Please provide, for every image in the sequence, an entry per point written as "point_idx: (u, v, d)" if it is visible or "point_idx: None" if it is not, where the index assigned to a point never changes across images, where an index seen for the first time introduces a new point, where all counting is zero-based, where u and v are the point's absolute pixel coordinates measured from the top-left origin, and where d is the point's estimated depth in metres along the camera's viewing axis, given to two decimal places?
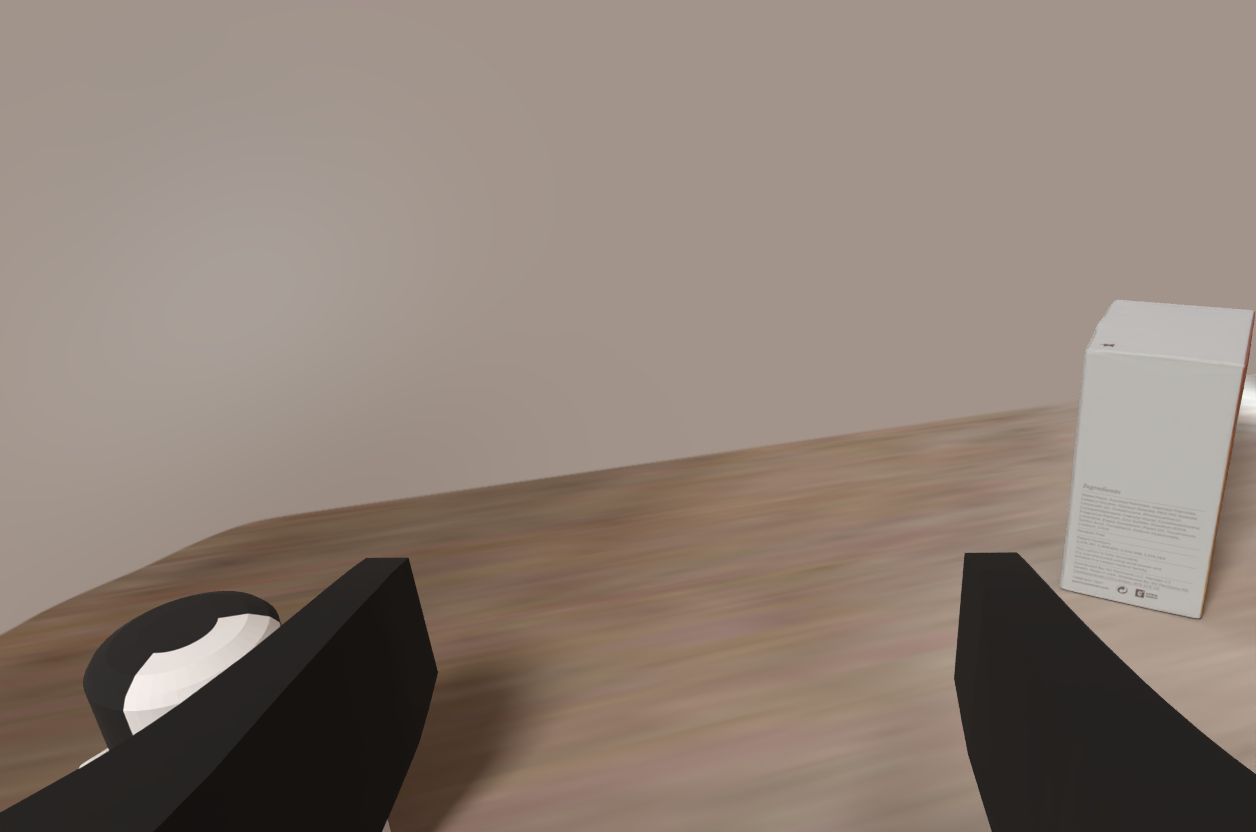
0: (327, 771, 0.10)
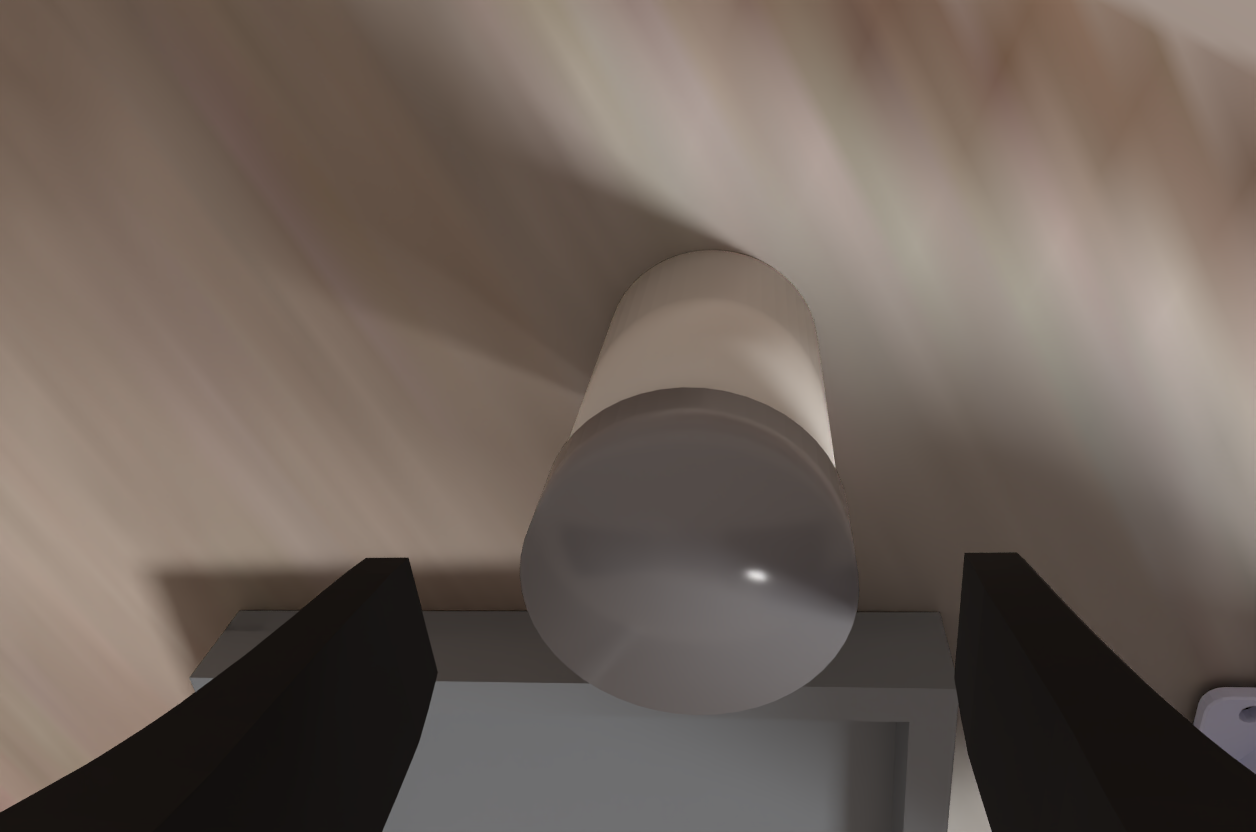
0: (327, 771, 0.10)
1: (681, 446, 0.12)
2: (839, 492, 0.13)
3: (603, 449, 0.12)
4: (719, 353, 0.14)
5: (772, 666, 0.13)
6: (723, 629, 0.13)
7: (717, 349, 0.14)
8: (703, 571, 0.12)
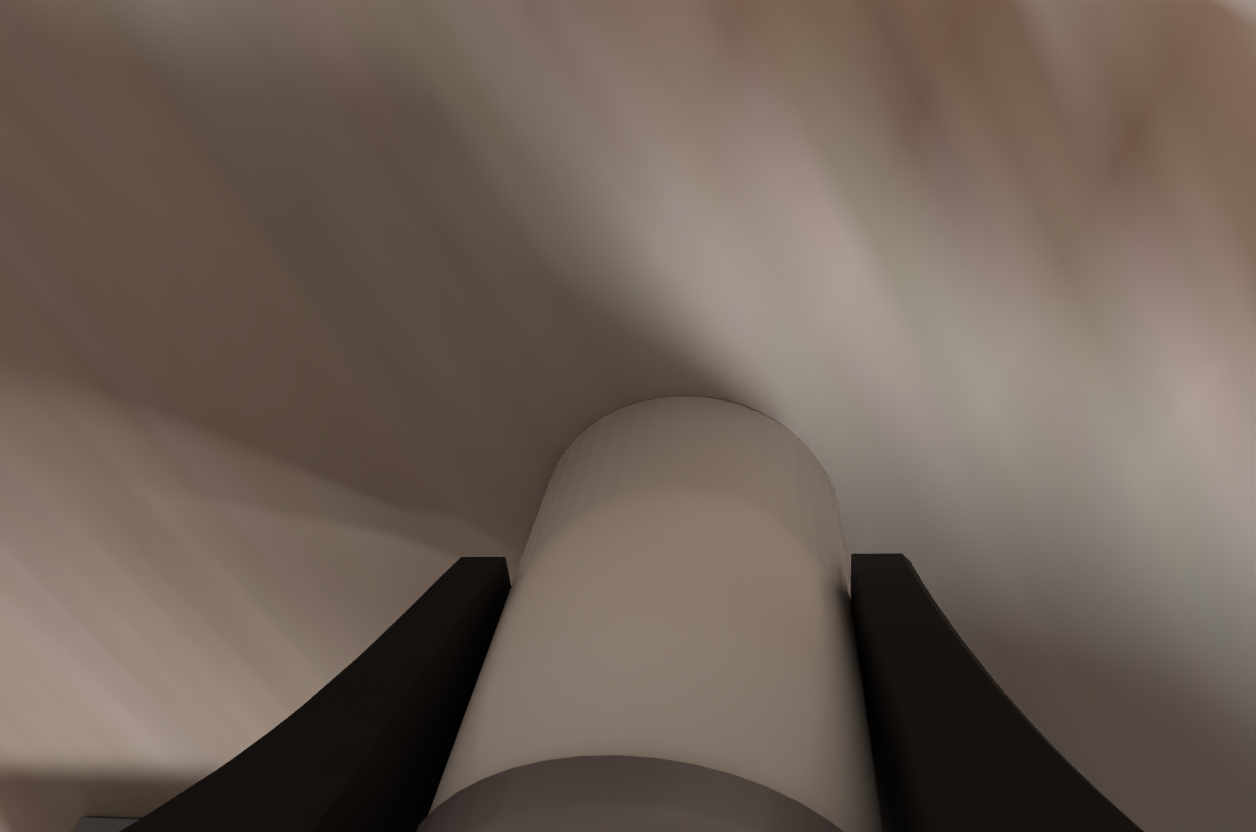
0: (442, 774, 0.10)
1: None
2: None
3: None
4: (690, 644, 0.09)
5: None
6: None
7: (687, 634, 0.09)
8: None
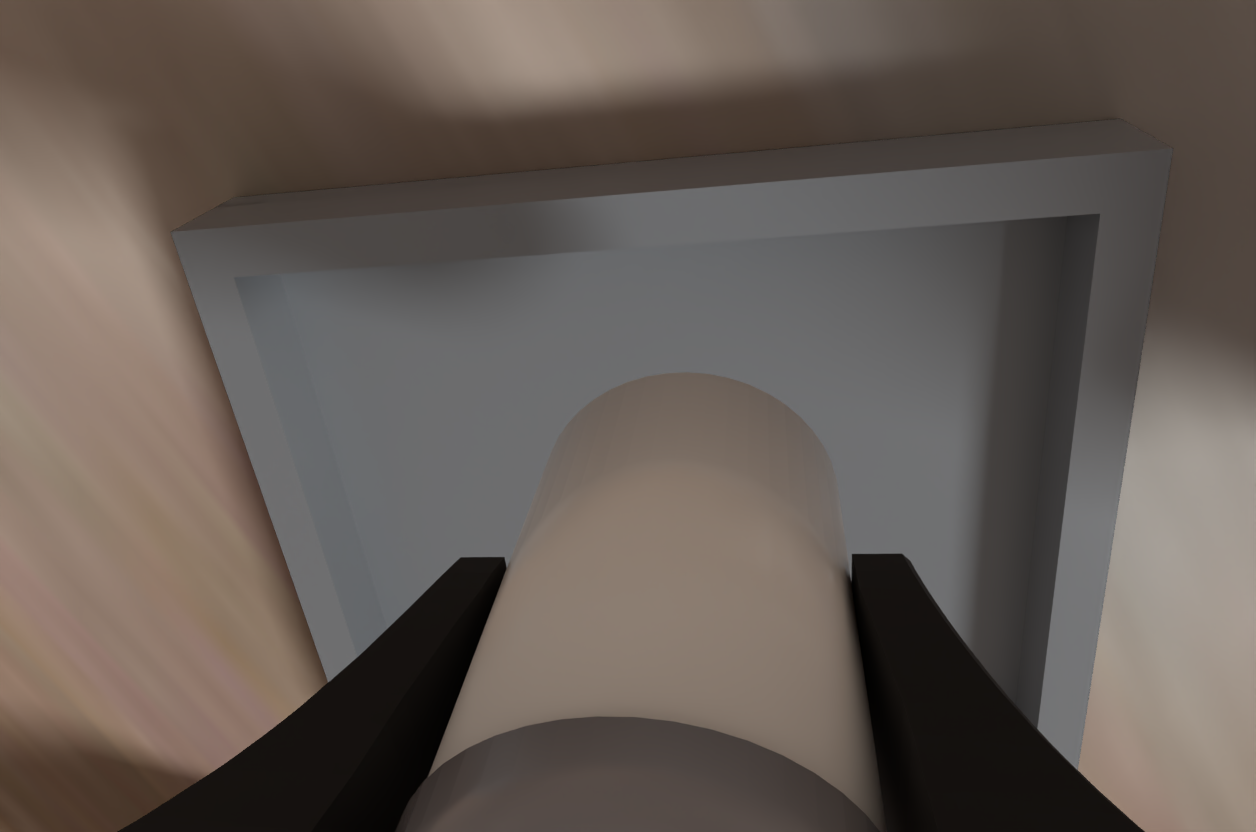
0: None
1: None
2: None
3: None
4: (703, 613, 0.09)
5: None
6: None
7: (700, 602, 0.09)
8: None
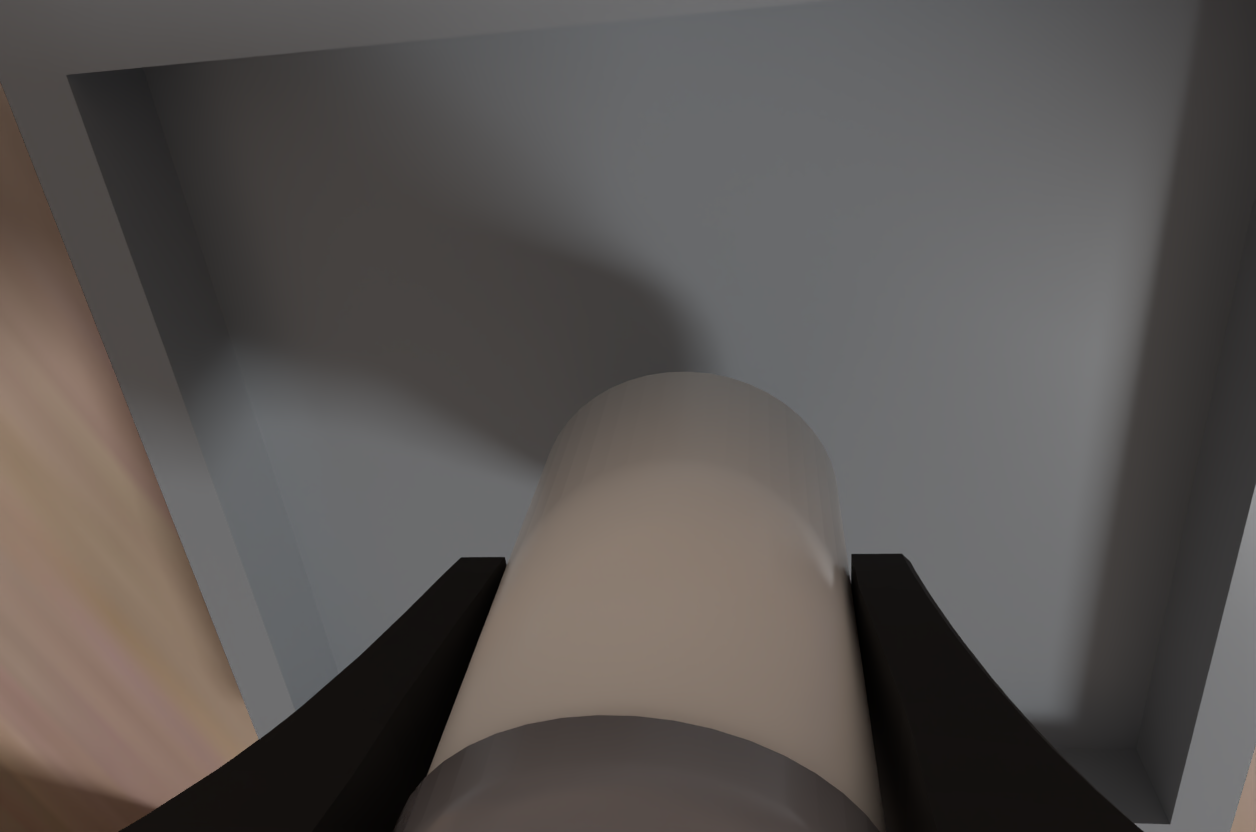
0: None
1: None
2: None
3: None
4: (704, 613, 0.09)
5: None
6: None
7: (702, 601, 0.09)
8: None
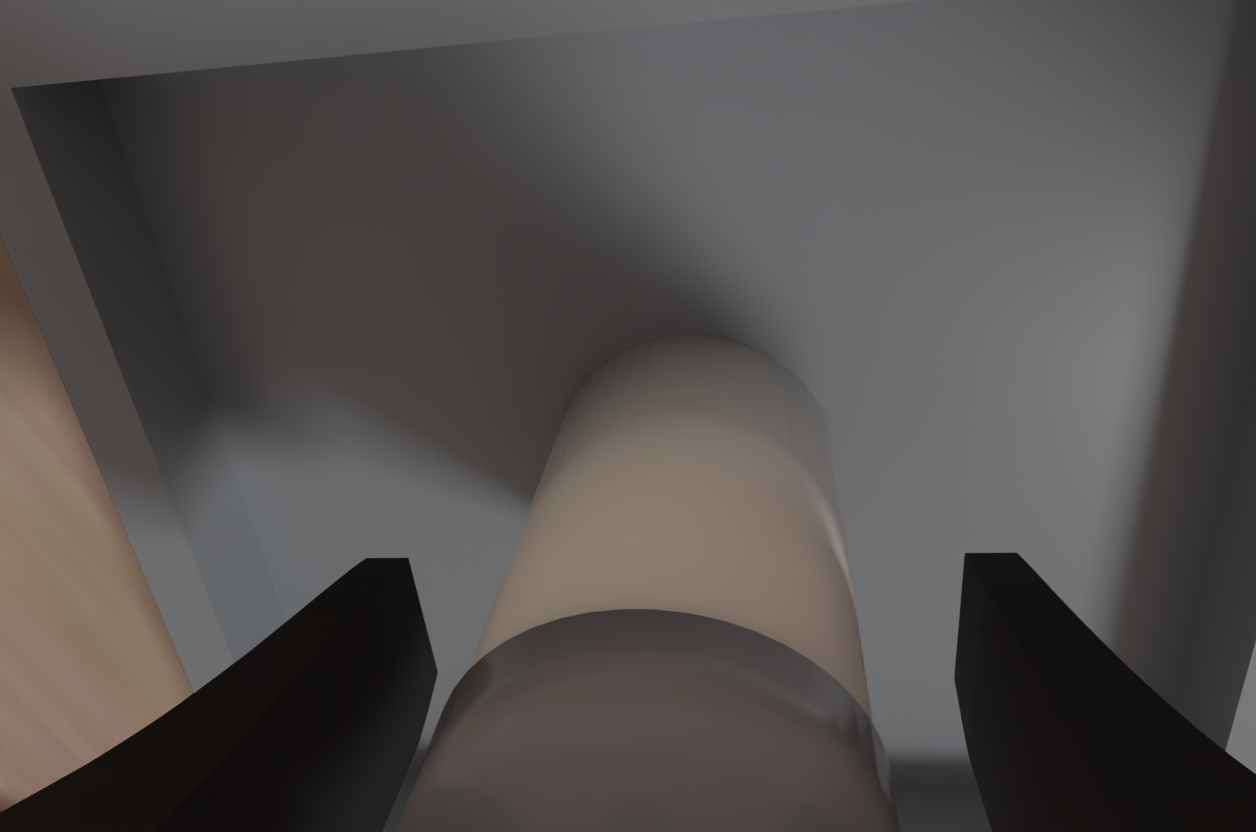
0: (327, 771, 0.10)
1: (648, 752, 0.07)
2: (889, 791, 0.08)
3: (520, 732, 0.07)
4: (712, 531, 0.10)
5: None
6: None
7: (710, 524, 0.10)
8: None
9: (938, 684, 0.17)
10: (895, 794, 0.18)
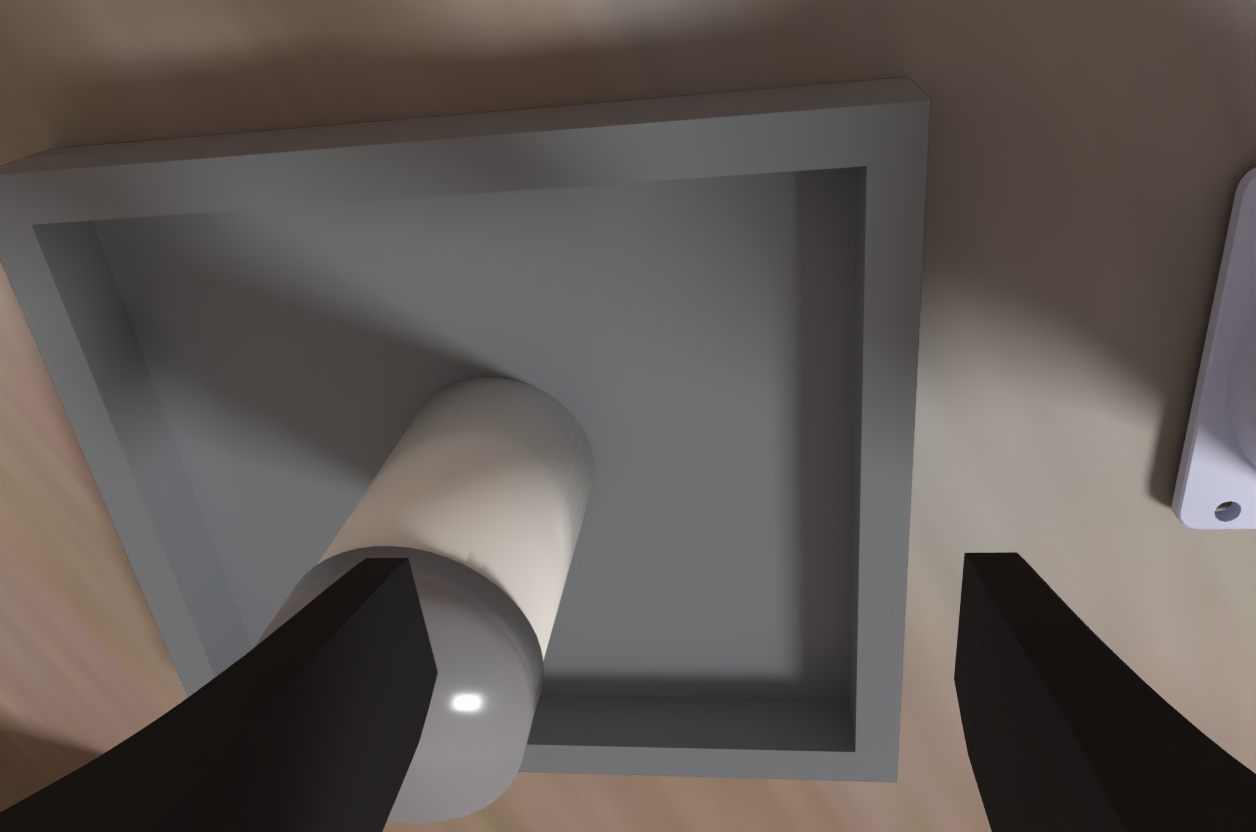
0: (327, 771, 0.10)
1: None
2: (520, 645, 0.15)
3: None
4: (448, 505, 0.16)
5: (459, 789, 0.15)
6: (415, 757, 0.15)
7: (449, 500, 0.16)
8: None
9: (688, 621, 0.23)
10: (668, 703, 0.24)
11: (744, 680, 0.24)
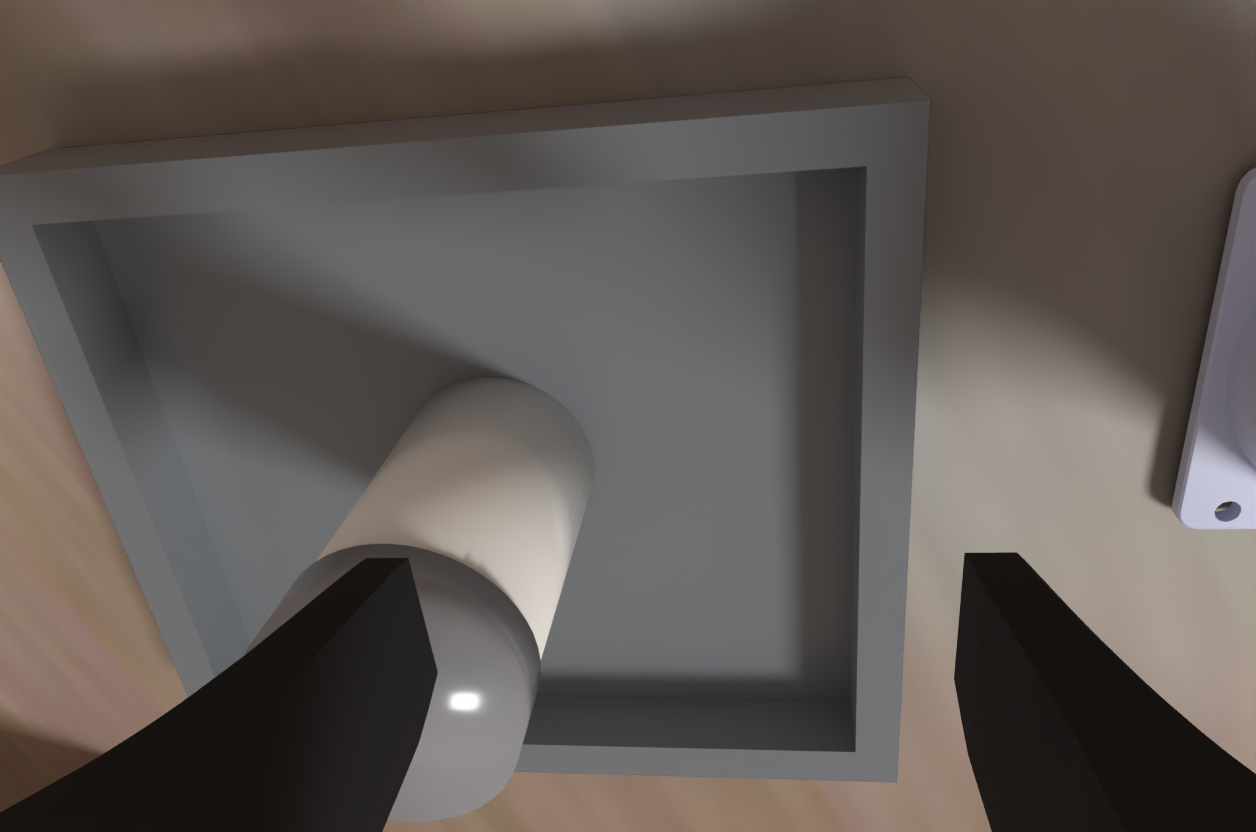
0: (327, 771, 0.10)
1: None
2: (517, 644, 0.15)
3: (302, 603, 0.14)
4: (445, 503, 0.16)
5: (456, 787, 0.15)
6: None
7: (446, 498, 0.16)
8: None
9: (688, 621, 0.23)
10: (668, 703, 0.24)
11: (744, 680, 0.24)
